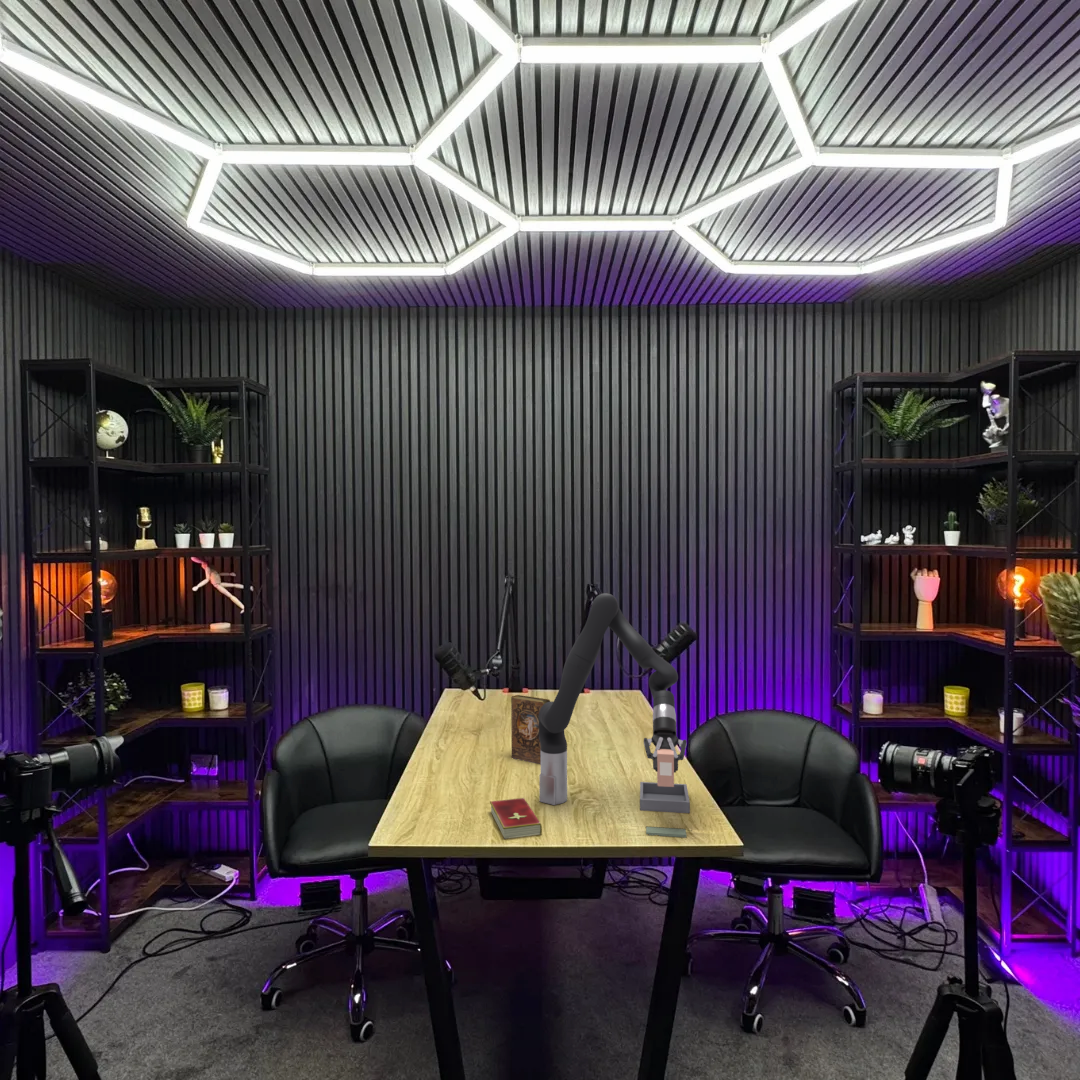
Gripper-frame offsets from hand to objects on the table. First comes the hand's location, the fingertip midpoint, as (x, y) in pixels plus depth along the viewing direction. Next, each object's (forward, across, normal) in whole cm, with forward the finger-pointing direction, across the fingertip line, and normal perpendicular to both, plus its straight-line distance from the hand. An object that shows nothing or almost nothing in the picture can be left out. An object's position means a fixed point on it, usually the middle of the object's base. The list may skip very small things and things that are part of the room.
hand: (665, 770), depth 207 cm
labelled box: (+2, 0, +5) cm, 5 cm away
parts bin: (-1, 0, +27) cm, 27 cm away
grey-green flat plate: (+12, 0, +14) cm, 19 cm away
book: (-28, -53, +55) cm, 81 cm away
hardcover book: (+15, -48, +12) cm, 51 cm away
